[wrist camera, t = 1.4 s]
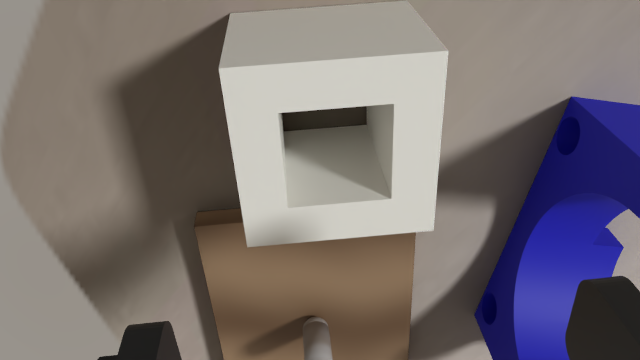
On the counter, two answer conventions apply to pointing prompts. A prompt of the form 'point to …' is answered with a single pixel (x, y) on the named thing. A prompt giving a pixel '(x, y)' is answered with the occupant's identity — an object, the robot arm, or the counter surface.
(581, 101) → the blue curved saddle bracket
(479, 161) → the counter surface
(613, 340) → the robot arm
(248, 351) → the pin base
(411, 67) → the white hollow square block
